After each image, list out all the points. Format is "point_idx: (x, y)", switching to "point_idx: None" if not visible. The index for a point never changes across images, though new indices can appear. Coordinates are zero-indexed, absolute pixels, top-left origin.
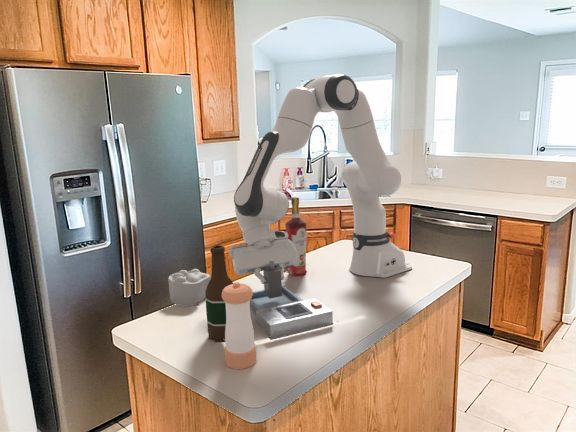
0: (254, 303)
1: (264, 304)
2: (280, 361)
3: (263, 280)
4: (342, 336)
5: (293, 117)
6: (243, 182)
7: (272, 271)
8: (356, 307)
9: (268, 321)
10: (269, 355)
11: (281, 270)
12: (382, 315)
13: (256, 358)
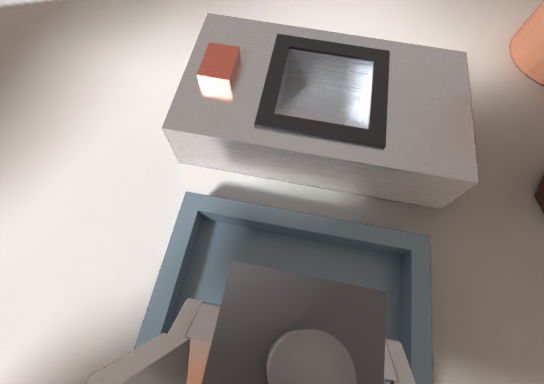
0: (418, 335)
1: None
2: (455, 9)
3: (396, 342)
4: (246, 6)
5: None
6: None
7: (327, 295)
8: (40, 97)
9: (461, 76)
10: (471, 39)
11: (166, 352)
12: (49, 19)
13: (517, 32)
